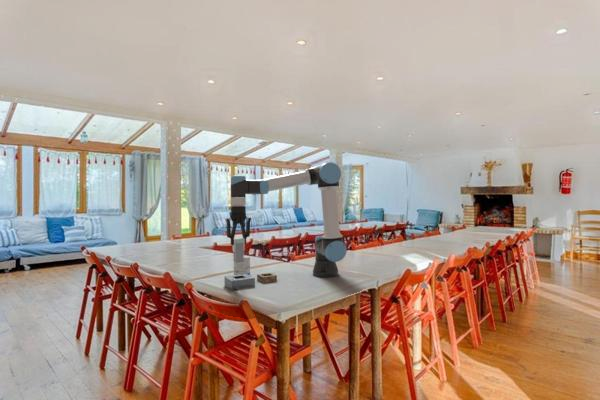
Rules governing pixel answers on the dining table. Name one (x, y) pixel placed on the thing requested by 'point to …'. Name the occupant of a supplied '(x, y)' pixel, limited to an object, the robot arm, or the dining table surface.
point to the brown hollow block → (266, 277)
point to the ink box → (242, 267)
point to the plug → (239, 250)
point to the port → (239, 281)
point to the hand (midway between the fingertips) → (238, 250)
